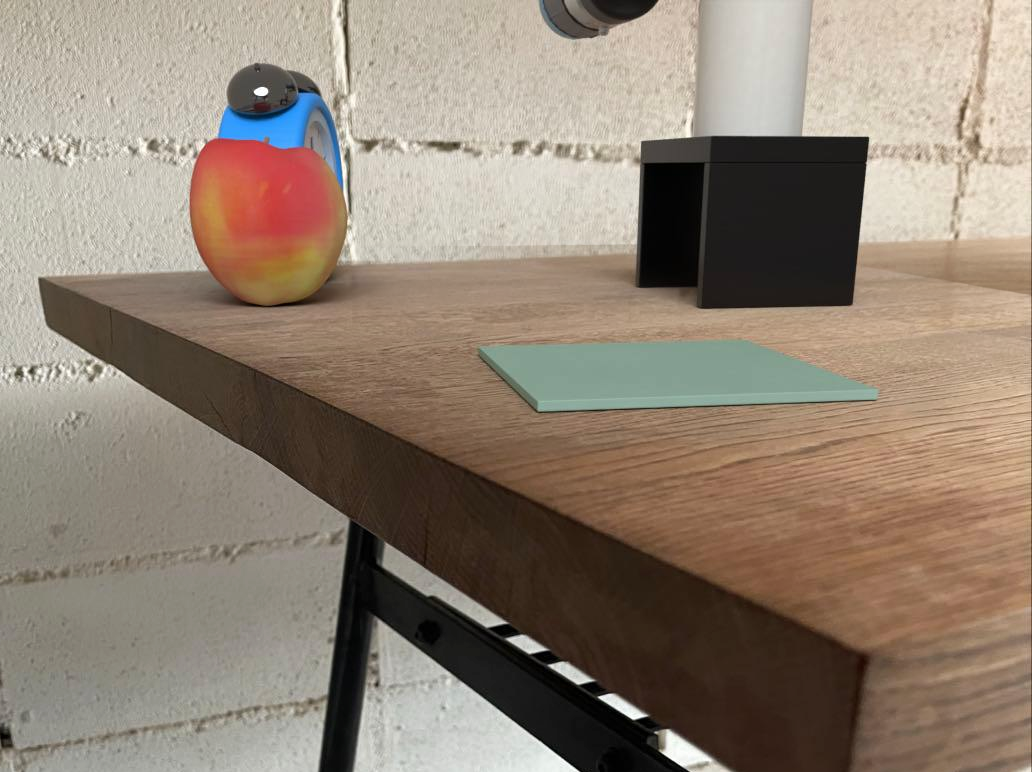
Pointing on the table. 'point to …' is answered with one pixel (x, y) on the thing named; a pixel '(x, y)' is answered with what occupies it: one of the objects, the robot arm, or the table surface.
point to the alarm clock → (280, 112)
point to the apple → (266, 219)
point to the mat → (664, 375)
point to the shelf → (752, 218)
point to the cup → (751, 67)
